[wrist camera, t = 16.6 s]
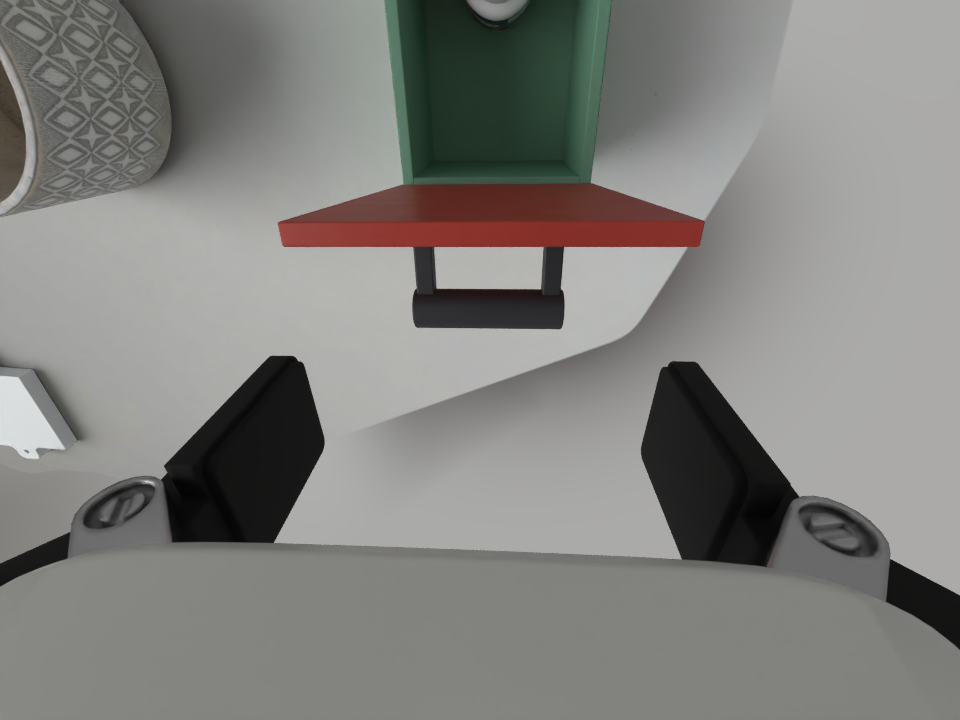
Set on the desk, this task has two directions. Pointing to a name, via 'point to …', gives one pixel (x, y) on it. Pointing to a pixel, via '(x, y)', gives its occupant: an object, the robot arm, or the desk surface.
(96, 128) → the planter
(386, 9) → the box
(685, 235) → the lid
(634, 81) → the desk surface
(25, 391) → the mounting plate
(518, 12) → the pill bottle
